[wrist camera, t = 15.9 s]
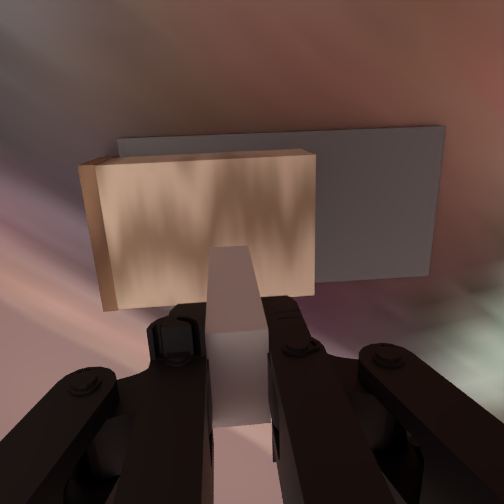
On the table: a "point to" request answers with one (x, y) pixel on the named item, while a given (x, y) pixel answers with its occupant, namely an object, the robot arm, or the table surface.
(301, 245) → the slab
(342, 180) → the mat
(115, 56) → the table surface
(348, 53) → the table surface
